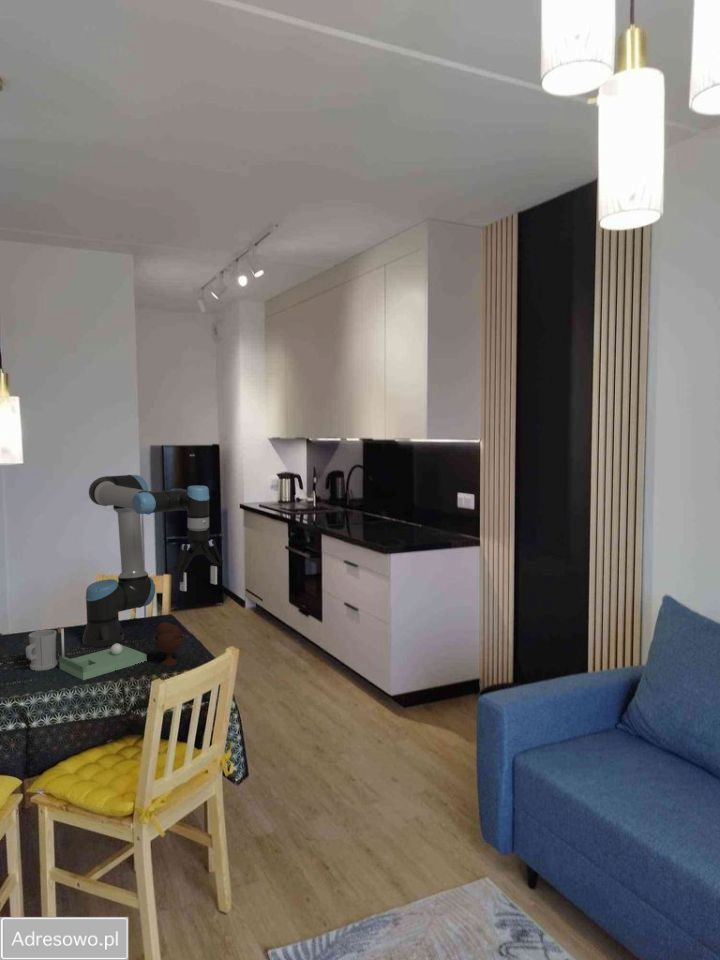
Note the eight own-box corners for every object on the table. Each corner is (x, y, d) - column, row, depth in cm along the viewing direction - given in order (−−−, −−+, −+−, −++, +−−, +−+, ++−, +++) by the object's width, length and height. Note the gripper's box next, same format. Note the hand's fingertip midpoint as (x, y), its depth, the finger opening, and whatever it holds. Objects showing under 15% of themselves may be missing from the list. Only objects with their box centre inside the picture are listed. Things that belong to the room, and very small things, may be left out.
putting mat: (57, 668, 235) (56, 627, 234) (120, 650, 253) (119, 613, 252) (83, 680, 224) (82, 637, 223) (146, 661, 242) (145, 621, 241)
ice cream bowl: (168, 670, 233) (168, 628, 232) (146, 664, 239) (146, 623, 238) (191, 661, 242) (190, 620, 241) (169, 656, 248) (169, 616, 247)
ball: (108, 654, 242) (108, 643, 241) (118, 651, 245) (118, 641, 244) (114, 657, 239) (114, 646, 239) (124, 654, 242) (124, 643, 242)
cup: (54, 671, 232) (53, 637, 231) (25, 674, 229) (24, 639, 228) (59, 661, 242) (58, 628, 241) (31, 663, 239) (30, 630, 238)
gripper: (175, 534, 229) (176, 595, 231) (232, 526, 249) (232, 582, 250) (162, 531, 234) (163, 591, 236) (219, 523, 253) (219, 579, 255)
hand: (198, 587), depth 243 cm, fingers open, 13 cm apart
